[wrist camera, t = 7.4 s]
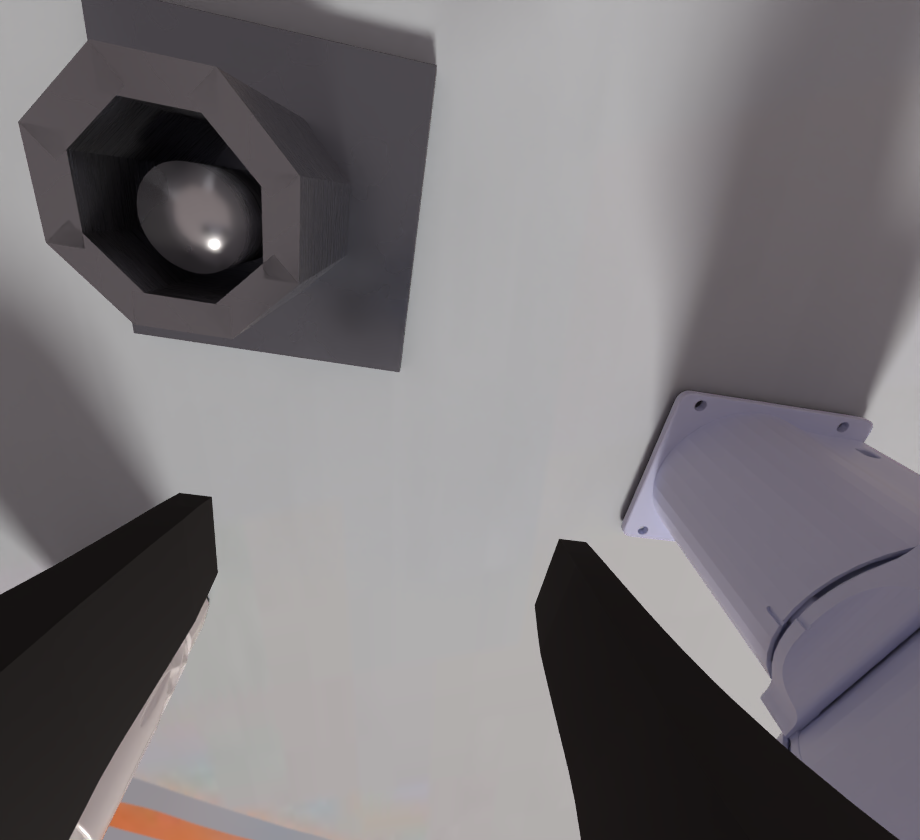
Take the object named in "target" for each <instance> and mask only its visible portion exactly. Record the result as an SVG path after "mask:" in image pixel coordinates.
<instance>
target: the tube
mask: <svg viewBox="0 0 920 840" xmlns="http://www.w3.org/2000/svg"><path fill="white" fill-rule="evenodd" d="M18 123H19V127H20V132H21V136H22V140H23V145H24V149H25V153H26V158H27V162H28V167H29V171H30V175H31V180H32V184H33V188H34V193H35V197H36V201H37V206H38V210H39V214H40V219H41V223H42V227H43V232H44V236H45V240H46V243H47V244H48V245H49V246H50V247H51V248H52V249H54V250H55V251H56V252H57V253H58V254H59V255H60V256H61V257H62V258H63V259H64V260H65V261H67V262H68V263H69V264H70V265H71V266H72V267H73V268H74V269H75V270H76V271H77V272H78V273H79V274H81V275H82V276H83V277H84V278H85V279H86V280H87V281H88V282H89V283H90V284H91V285H92V286H93V287H95V288H96V289H97V290H98V291H99V292H100V293H101V294H102V295H103V296H104V297H105V298H106V299H107V300H109V301H110V302H111V303H112V304H113V305H114V306H115V307H116V308H117V309H118V310H119V311H120V312H121V313H123V314H124V315H125V316H126V317H127V318H128V319H129V320H130V321H131V322H132V323H133V324H134V325H141V326H148V327H154V328H161V329H168V330H175V331H181V332H188V333H195V334H201V335H208V336H215V337H222V338H228V339H233V338H235V337H236V336H238V335H239V334H240V333H242V332H243V331H245V330H246V329H248V328H249V327H251V326H252V325H254V324H255V323H257V322H258V321H260V320H261V319H263V318H264V317H266V316H267V315H268V314H270V313H271V312H273V311H274V310H276V309H277V308H279V307H280V306H282V305H283V304H285V303H286V302H288V301H289V300H291V299H292V298H293V297H295V296H296V295H298V294H299V293H301V292H302V291H303V290H304V289H306V288H307V287H308V286H309V285H311V284H312V283H313V282H314V281H316V280H317V279H318V278H319V277H321V276H322V275H323V274H324V273H325V272H327V271H328V270H329V269H330V268H332V267H333V266H334V265H335V264H337V263H338V262H339V261H340V260H341V259H343V258H344V257H345V256H346V255H347V246H348V228H349V210H350V192H351V184H350V183H349V181H348V180H347V179H346V177H345V176H344V175H343V173H342V172H341V170H340V169H339V168H338V166H337V165H336V163H335V162H334V161H333V159H332V158H331V157H330V155H329V154H328V152H327V151H326V150H325V148H324V147H323V145H322V144H321V143H320V141H319V140H318V139H317V137H316V136H315V134H314V133H313V132H312V130H311V129H310V128H309V126H308V125H307V123H306V122H305V121H304V119H303V118H301V117H300V116H298V115H296V114H295V113H293V112H291V111H290V110H288V109H286V108H285V107H283V106H281V105H280V104H278V103H276V102H275V101H273V100H271V99H270V98H268V97H266V96H265V95H263V94H261V93H260V92H258V91H256V90H255V89H253V88H251V87H250V86H248V85H246V84H244V83H243V82H241V81H239V80H238V79H236V78H234V77H233V76H231V75H229V74H228V73H226V72H224V71H223V70H221V69H219V68H218V67H216V66H211V65H207V64H202V63H197V62H193V61H188V60H184V59H179V58H174V57H170V56H165V55H161V54H156V53H151V52H147V51H142V50H137V49H133V48H128V47H124V46H119V45H114V44H110V43H105V42H101V41H96V40H91V39H89V40H88V41H87V42H86V43H85V45H84V46H83V47H82V48H81V49H80V50H79V52H78V53H77V54H76V55H75V56H74V57H73V59H72V60H71V61H70V62H69V63H68V64H67V66H66V67H65V68H64V69H63V70H62V71H61V73H60V74H59V75H58V76H57V77H56V78H55V80H54V81H53V82H52V83H51V84H50V85H49V87H48V88H47V89H46V90H45V91H44V92H43V94H42V95H41V96H40V97H39V98H38V99H37V101H36V102H35V103H34V104H33V105H32V106H31V108H30V109H29V110H28V111H27V112H26V113H25V115H24V116H23V117H22V118H21V119H20V120H19V122H18ZM228 147H230V149H231V150H232V151H233V152H234V153H235V155H236V156H237V157H238V158H239V160H240V161H241V162H242V163H243V165H244V166H245V167H246V168H247V169H248V171H249V172H250V173H251V174H252V176H253V177H254V178H255V179H256V181H257V182H258V183H259V184H260V185H261V194H262V234H263V263H257V262H251V261H249V262H246V263H243V264H240V265H237V266H234V267H231V268H228V269H225V270H222V271H219V272H216V273H210V274H201V273H194V272H190V271H187V270H184V269H182V268H180V267H178V266H176V265H174V264H173V263H171V262H169V261H168V260H167V259H166V258H164V257H163V256H162V255H161V254H160V253H159V252H158V251H157V250H156V249H155V248H154V247H153V245H152V244H151V243H150V241H149V240H148V238H147V236H146V235H145V233H144V231H143V229H142V226H141V224H140V221H139V217H138V212H137V193H138V189H139V186H140V183H141V181H142V180H143V178H144V176H145V175H146V174H147V173H148V172H149V171H150V170H151V169H152V168H153V167H155V166H157V165H159V164H161V163H164V162H169V161H186V162H193V163H200V164H206V165H211V164H212V163H213V162H214V161H215V160H216V159H217V158H218V157H219V156H220V155H221V154H222V153H223V152H224V151H225V150H226V149H227V148H228Z"/></svg>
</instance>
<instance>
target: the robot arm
mask: <svg viewBox="0 0 920 840" xmlns="http://www.w3.org/2000/svg"><path fill="white" fill-rule="evenodd" d="M701 400H702V403H701V404H700V405H699V406H698V407H695V404H696V403H697V402H698V401H701ZM840 424H841V425H840ZM839 425H840V426H839ZM838 426H839V427H838ZM872 428H873V424H872V422H871V421H869V420H867V419H865V418H863V417H858V416H851V415H845V414H838V413H832V412H826V411H819V410H813V409H806V408H800V407H793V406H787V405H781V404H774V403H768V402H761V401H755V400H748V399H742V398H735V397H729V396H723V395H716V394H710V393H703V392H697V391H684V392H682V393H680V394H679V395H678V396H677V398H676V399H675V402H674V404H673V406H672V408H671V411H670V413H669V415H668V418H667V420H666V422H665V425H664V427H663V429H662V432H661V434H660V436H659V439H658V441H657V443H656V446H655V448H654V450H653V453H652V455H651V457H650V459H649V462H648V464H647V466H646V469H645V471H644V473H643V476H642V478H641V480H640V483H639V485H638V487H637V490H636V492H635V494H634V497H633V499H632V501H631V504H630V506H629V508H628V510H627V513H626V515H625V517H624V520H623V522H622V525H621V527H622V530H623V532H624V533H625V534H626V535H627V536H631V537H640V538H649V539H658V540H667V541H676V542H677V544H678V545H679V547H680V548H681V550H682V551H683V552H684V554H685V555H686V557H687V558H688V560H689V561H690V563H691V564H692V565H693V567H694V568H695V570H696V571H697V573H698V574H699V576H700V577H701V578H702V580H703V581H704V583H705V584H706V586H707V587H708V588H709V590H710V591H711V593H712V594H713V596H714V597H715V599H716V600H717V601H718V603H719V604H720V606H721V607H722V609H723V610H724V612H725V613H726V614H727V616H728V617H729V619H730V620H731V622H732V623H733V625H734V626H735V627H736V629H737V630H738V632H739V633H740V635H741V636H742V637H743V639H744V640H745V642H746V643H747V645H748V646H749V648H750V649H751V650H752V652H753V653H754V655H755V656H756V658H757V659H758V661H759V662H760V663H761V665H762V666H763V668H764V669H765V671H766V672H767V673H768V675H769V676H770V678H771V679H772V680H771V683H770V685H769V687H768V688H767V690H766V691H765V692H764V693H763V694H762V695H761V700H762V702H763V703H764V705H765V706H766V708H767V709H768V711H769V712H770V714H771V715H772V717H773V719H774V720H775V722H776V723H777V725H778V726H779V728H780V729H781V731H782V733H781V734H780V735H779V736H778V738H777V739H775V738H774V737H773V736H772V735H771V734H770V733H769V732H768V731H767V730H765V729H764V728H763V727H762V726H761V725H760V724H759V723H758V722H757V721H756V720H754V719H753V718H752V717H751V716H750V715H749V714H748V713H747V712H746V711H745V710H744V709H742V708H741V707H740V706H739V705H738V704H737V703H736V702H735V701H734V700H733V699H732V698H730V697H729V696H728V695H727V694H726V693H725V692H724V691H723V690H722V689H721V688H720V687H719V686H718V685H717V684H716V683H715V682H714V681H713V680H712V679H711V678H710V677H709V676H708V675H707V674H706V673H705V672H704V671H703V670H702V669H701V668H700V667H699V666H698V665H697V664H696V663H695V662H694V661H693V660H692V659H691V658H690V657H689V656H688V655H687V654H686V653H685V652H684V651H683V650H682V649H681V648H680V647H679V645H678V644H677V643H676V642H675V641H674V640H673V639H672V638H671V637H670V636H669V635H668V634H667V633H666V632H665V631H664V629H663V628H662V627H661V626H660V625H659V624H658V623H657V622H656V621H655V620H654V619H653V617H652V616H651V615H650V614H649V613H648V612H647V611H646V610H645V609H644V607H643V606H642V605H641V604H640V603H639V602H638V601H637V600H636V598H635V597H634V596H633V595H632V594H631V593H630V592H629V590H628V589H627V588H626V587H625V586H624V585H623V584H622V582H621V581H620V580H619V579H618V578H617V577H616V575H615V574H614V573H613V572H612V571H611V570H610V569H609V567H608V566H607V565H606V564H605V563H604V562H603V560H602V559H601V558H600V557H599V556H598V555H597V554H596V553H595V551H594V550H593V549H592V548H591V547H590V546H589V545H588V544H587V543H586V542H580V541H572V540H563V539H559V541H558V544H557V546H556V549H555V552H554V554H553V557H552V560H551V563H550V565H549V568H548V571H547V573H546V576H545V579H544V581H543V584H542V587H541V590H540V592H539V595H538V598H537V600H536V603H535V612H536V621H537V630H538V638H539V646H540V653H541V658H542V662H543V666H544V671H545V675H546V679H547V683H548V688H549V692H550V696H551V700H552V704H553V708H554V713H555V717H556V721H557V725H558V729H559V733H560V737H561V741H562V746H563V750H564V754H565V758H566V762H567V766H568V770H569V775H570V780H571V784H572V789H573V794H574V799H575V804H576V811H577V817H578V823H579V830H580V836H581V840H920V475H919V474H918V473H916V472H914V471H912V470H911V469H909V468H907V467H905V466H904V465H902V464H900V463H898V462H897V461H895V460H893V459H891V458H890V457H888V456H886V455H884V454H883V453H881V452H879V451H877V450H876V449H874V448H872V447H870V446H869V445H867V444H865V443H864V441H865V440H866V438H867V437H868V435H869V434H870V432H871V430H872ZM643 526H644V527H643ZM640 527H643V528H642V529H639V528H640ZM217 573H218V570H217V557H216V545H215V532H214V520H213V508H212V497H208V496H200V495H192V494H184V493H178V494H177V495H175V496H173V497H171V498H169V499H168V500H166V501H164V502H162V503H161V504H159V505H157V506H155V507H154V508H152V509H150V510H149V511H147V512H145V513H144V514H142V515H140V516H139V517H137V518H135V519H134V520H132V521H130V522H128V523H127V524H125V525H123V526H122V527H120V528H118V529H117V530H115V531H113V532H112V533H110V534H108V535H106V536H105V537H103V538H101V539H100V540H98V541H96V542H94V543H93V544H91V545H89V546H88V547H86V548H84V549H82V550H81V551H79V552H77V553H75V554H74V555H72V556H70V557H69V558H67V559H65V560H63V561H62V562H60V563H58V564H56V565H55V566H53V567H51V568H49V569H47V570H45V571H43V572H42V573H40V574H38V575H36V576H34V577H32V578H30V579H29V580H27V581H25V582H23V583H21V584H19V585H17V586H16V587H14V588H12V589H10V590H8V591H6V592H4V593H3V594H1V595H0V840H69V839H70V837H71V835H72V833H73V831H74V829H75V827H76V825H77V823H78V821H79V819H80V817H81V815H82V813H83V812H84V810H85V808H86V806H87V804H88V802H89V800H90V798H91V796H92V794H93V792H94V790H95V788H96V786H97V784H98V782H99V780H100V778H101V777H102V775H103V773H104V771H105V770H106V768H107V766H108V764H109V763H110V761H111V759H112V757H113V756H114V754H115V752H116V750H117V749H118V747H119V745H120V744H121V742H122V740H123V739H124V737H125V736H126V734H127V732H128V731H129V729H130V727H131V726H132V724H133V723H134V721H135V719H136V718H137V716H138V714H139V713H140V711H141V710H142V708H143V706H144V705H145V703H146V701H147V700H148V698H149V697H150V695H151V693H152V692H153V690H154V688H155V687H156V685H157V684H158V682H159V680H160V679H161V677H162V676H163V674H164V672H165V671H166V669H167V667H168V666H169V664H170V663H171V661H172V659H173V658H174V656H175V654H176V653H177V651H178V649H179V648H180V646H181V644H182V643H183V641H184V639H185V638H186V636H187V635H188V633H189V631H190V629H191V628H192V626H193V624H194V623H195V621H196V619H197V617H198V615H199V612H200V610H201V608H202V606H203V604H204V602H205V600H206V598H207V596H208V593H209V591H210V589H211V587H212V584H213V582H214V580H215V578H216V575H217Z"/></svg>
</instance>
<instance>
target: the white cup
mask: <svg viewBox="0 0 920 840" xmlns="http://www.w3.org/2000/svg"><path fill="white" fill-rule="evenodd" d="M208 608H209V602H208V599H207V598H206V600H205V602H204V604H203V606H202V608H201V610H200V612H199V615H198V617H197V619H196V621H195V623H194V624H193V626H192V628H191V629H190V631H189V633H188V635H187V636H186V638H185V639H184V641H183V643H182V644H181V646H180V648H179V649H178V651H177V653H176V654H175V656H174V658H173V659H172V661H171V663H170V664H169V666H168V667H167V669H166V671H165V672H164V674H163V676H162V677H161V679H160V680H159V682H158V684H157V685H156V687H155V688H154V690H153V692H152V693H151V695H150V697H149V698H148V700H147V701H146V703H145V705H144V706H143V708H142V710H141V711H140V713H139V714H138V716H137V718H136V719H135V721H134V723H133V724H132V726H131V727H130V729H129V731H128V732H127V734H126V736H125V737H124V739H123V740H122V742H121V744H120V745H119V747H118V749H117V750H116V752H115V754H114V756H113V757H112V759H111V761H110V763H109V764H108V766H107V768H106V770H105V771H104V773H103V775H102V777H101V778H100V780H99V782H98V784H97V786H96V788H95V790H94V792H93V794H92V796H91V798H90V800H89V802H88V804H87V806H86V808H85V810H84V812H83V813H82V815H81V817H80V819H79V821H78V823H77V825H76V827H75V829H74V831H73V833H72V835H71V837H70V839H69V840H102V839H103V837H104V835H105V833H106V831H107V829H108V827H109V825H110V823H111V820H112V818H113V816H114V814H115V812H116V810H117V808H118V806H119V804H120V802H121V800H122V798H123V796H124V794H125V791H126V790H127V788H128V786H129V784H130V782H131V780H132V777H133V775H134V773H135V771H136V769H137V767H138V765H139V763H140V761H141V759H142V757H143V755H144V753H145V751H146V749H147V747H148V745H149V743H150V741H151V739H152V737H153V735H154V733H155V731H156V728H157V726H158V724H159V721H160V719H161V716H162V714H163V712H164V710H165V708H166V706H167V704H168V702H169V700H170V698H171V696H172V693H173V691H174V689H175V687H176V684H177V682H178V680H179V678H180V676H181V674H182V672H183V670H184V668H185V665H186V663H187V657H188V655H189V653H190V651H191V649H192V647H193V645H194V643H195V641H196V639H197V637H198V635H199V633H200V631H201V629H202V627H203V625H204V622H205V618H206V615H207V612H208Z"/></svg>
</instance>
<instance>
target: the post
mask: <svg viewBox="0 0 920 840" xmlns="http://www.w3.org/2000/svg"><path fill="white" fill-rule="evenodd" d="M81 2H82V8H83V14H84V20H85V27H86V33H87V39H88V40H89V39H91V40H96V41H101V42H105V43H110V44H114V45H119V46H124V47H128V48H133V49H137V50H142V51H147V52H151V53H156V54H161V55H165V56H170V57H174V58H179V59H184V60H188V61H193V62H197V63H202V64H207V65H211V66H216V67H218V68H219V69H221V70H223V71H224V72H226V73H228V74H229V75H231V76H233V77H234V78H236V79H238V80H239V81H241V82H243V83H244V84H246V85H248V86H250V87H251V88H253V89H255V90H256V91H258V92H260V93H261V94H263V95H265V96H266V97H268V98H270V99H271V100H273V101H275V102H276V103H278V104H280V105H281V106H283V107H285V108H286V109H288V110H290V111H291V112H293V113H295V114H296V115H298V116H300V117H301V118H303V119H304V121H305V122H306V123H307V125H308V126H309V128H310V129H311V130H312V132H313V133H314V134H315V136H316V137H317V139H318V140H319V141H320V143H321V144H322V145H323V147H324V148H325V150H326V151H327V152H328V154H329V155H330V157H331V158H332V159H333V161H334V162H335V163H336V165H337V166H338V168H339V169H340V170H341V172H342V173H343V175H344V176H345V177H346V179H347V180H348V181H349V183H350V184H351V192H350V210H349V228H348V246H347V255H346V256H345V257H344V258H343V259H341V260H340V261H339V262H338V263H337V264H335V265H334V266H333V267H332V268H330V269H329V270H328V271H327V272H325V273H324V274H323V275H322V276H321V277H319V278H318V279H317V280H316V281H314V282H313V283H312V284H311V285H309V286H308V287H307V288H306V289H304V290H303V291H302V292H301V293H299V294H298V295H296V296H295V297H293V298H292V299H291V300H289V301H288V302H286V303H285V304H283V305H282V306H280V307H279V308H277V309H276V310H274V311H273V312H271V313H270V314H268V315H267V316H266V317H264V318H263V319H261V320H260V321H258V322H257V323H255V324H254V325H252V326H251V327H249V328H248V329H246V330H245V331H243V332H242V333H240V334H239V335H238V336H236V337H235V338H233V339H228V338H222V337H215V336H208V335H201V334H195V333H188V332H181V331H175V330H168V329H161V328H154V327H148V326H141V325H134V324H133V323H132V324H133V330H134V333H138V334H145V335H151V336H158V337H165V338H172V339H179V340H185V341H192V342H199V343H206V344H212V345H219V346H226V347H233V348H239V349H246V350H253V351H260V352H266V353H273V354H280V355H287V356H293V357H300V358H307V359H314V360H320V361H327V362H334V363H341V364H347V365H354V366H361V367H368V368H374V369H381V370H388V371H395V372H400V368H401V360H402V352H403V343H404V335H405V327H406V319H407V311H408V302H409V294H410V286H411V278H412V269H413V261H414V253H415V245H416V237H417V228H418V220H419V212H420V204H421V196H422V187H423V179H424V171H425V163H426V154H427V146H428V138H429V130H430V122H431V113H432V105H433V97H434V89H435V81H436V72H437V65H432V64H428V63H424V62H419V61H415V60H411V59H407V58H402V57H398V56H394V55H389V54H385V53H381V52H376V51H372V50H368V49H364V48H359V47H355V46H351V45H346V44H342V43H338V42H334V41H329V40H325V39H321V38H316V37H312V36H308V35H303V34H299V33H295V32H291V31H286V30H282V29H278V28H273V27H269V26H265V25H260V24H256V23H252V22H248V21H243V20H239V19H235V18H230V17H226V16H222V15H218V14H213V13H209V12H205V11H200V10H196V9H192V8H187V7H183V6H179V5H175V4H170V3H166V2H162V1H157V0H81ZM137 212H138V217H139V221H140V224H141V226H142V229H143V231H144V233H145V235H146V236H147V238H148V240H149V241H150V243H151V244H152V245H153V247H154V248H155V249H156V250H157V251H158V252H159V253H160V254H161V255H162V256H163V257H164V258H166V259H167V260H168V261H169V262H171V263H173V264H174V265H176V266H178V267H180V268H182V269H184V270H187V271H190V272H194V273H201V274H210V273H216V272H219V271H222V270H225V269H228V268H231V267H234V266H237V265H240V264H243V263H246V262H249V261H251V262H257V263H263V234H262V194H261V185H260V184H259V183H258V182H257V181H256V179H255V178H254V177H253V176H252V174H251V173H250V172H249V171H248V169H247V168H246V167H245V166H244V165H243V163H242V162H241V161H240V160H239V158H238V157H237V156H236V155H235V153H234V152H233V151H232V150H231V149H230V147H228V148H227V149H226V150H225V151H224V152H223V153H222V154H221V155H220V156H219V157H218V158H217V159H216V160H215V161H214V162H213V163H212V164H211V165H206V164H200V163H193V162H186V161H169V162H164V163H161V164H159V165H157V166H155V167H153V168H152V169H151V170H150V171H149V172H148V173H147V174H146V175H145V176H144V178H143V180H142V181H141V183H140V186H139V189H138V193H137Z"/></svg>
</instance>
